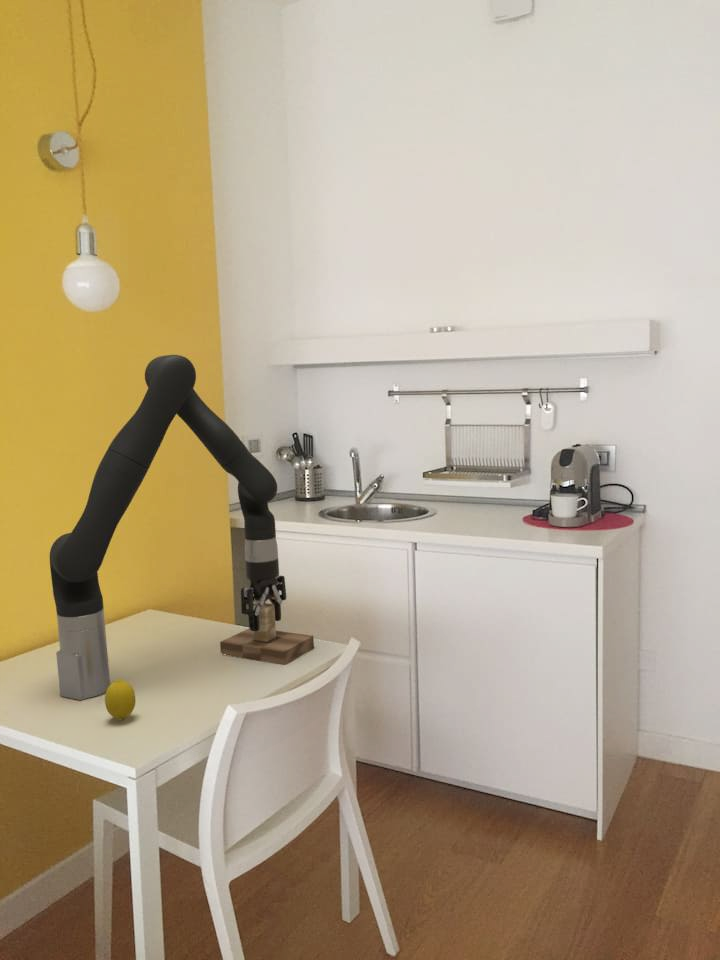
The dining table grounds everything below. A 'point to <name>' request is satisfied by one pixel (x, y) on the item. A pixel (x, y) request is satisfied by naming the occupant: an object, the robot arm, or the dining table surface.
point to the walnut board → (268, 647)
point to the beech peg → (266, 624)
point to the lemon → (120, 699)
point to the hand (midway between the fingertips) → (265, 625)
